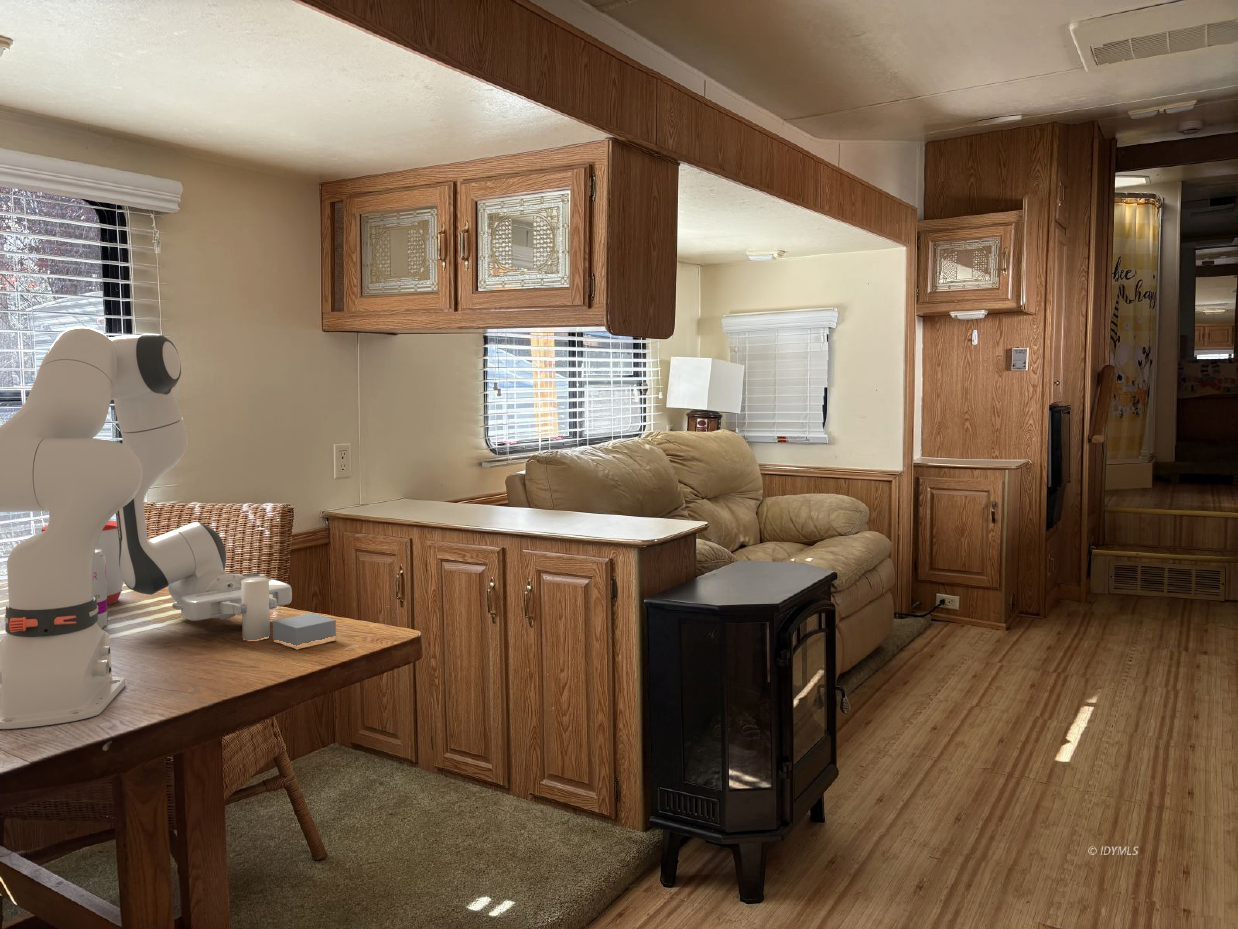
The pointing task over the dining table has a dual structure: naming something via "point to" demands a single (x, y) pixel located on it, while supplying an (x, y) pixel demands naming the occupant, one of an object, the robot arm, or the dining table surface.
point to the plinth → (303, 628)
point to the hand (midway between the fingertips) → (258, 607)
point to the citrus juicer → (110, 560)
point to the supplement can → (100, 587)
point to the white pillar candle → (255, 608)
